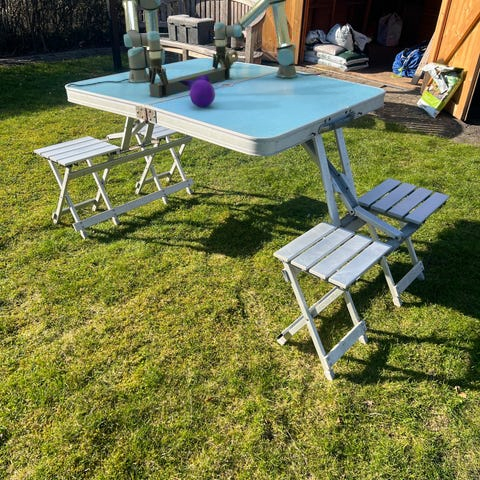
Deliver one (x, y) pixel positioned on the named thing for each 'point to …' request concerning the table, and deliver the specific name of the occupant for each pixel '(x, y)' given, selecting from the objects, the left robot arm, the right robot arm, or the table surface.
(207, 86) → the toy
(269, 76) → the table surface
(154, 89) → the wide block
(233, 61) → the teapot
